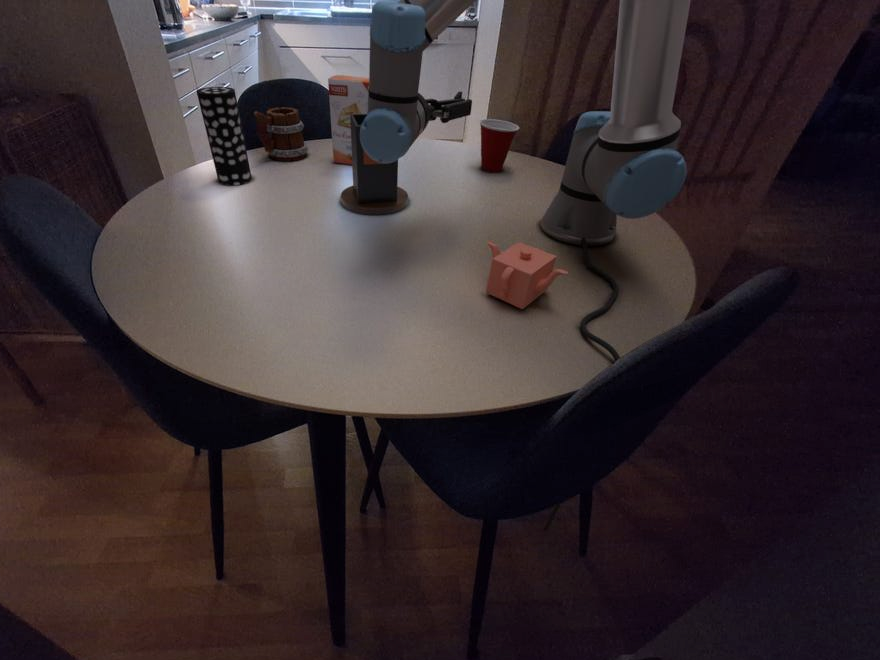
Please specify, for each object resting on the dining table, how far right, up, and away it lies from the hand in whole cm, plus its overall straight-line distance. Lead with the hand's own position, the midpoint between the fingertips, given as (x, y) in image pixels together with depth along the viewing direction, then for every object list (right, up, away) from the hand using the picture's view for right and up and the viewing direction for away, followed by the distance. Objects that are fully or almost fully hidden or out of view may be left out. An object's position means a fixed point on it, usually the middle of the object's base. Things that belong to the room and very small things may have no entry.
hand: (427, 96), depth 91 cm
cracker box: (-18, +1, +34) cm, 38 cm away
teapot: (+14, -44, -16) cm, 49 cm away
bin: (-12, -16, +12) cm, 23 cm away
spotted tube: (-49, -9, +21) cm, 54 cm away
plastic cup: (+21, -1, +33) cm, 39 cm away
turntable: (-12, -17, +13) cm, 25 cm away
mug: (-40, +4, +36) cm, 54 cm away
